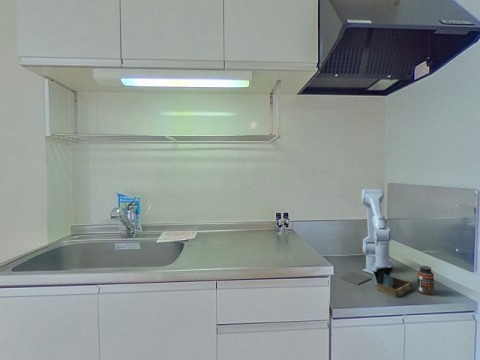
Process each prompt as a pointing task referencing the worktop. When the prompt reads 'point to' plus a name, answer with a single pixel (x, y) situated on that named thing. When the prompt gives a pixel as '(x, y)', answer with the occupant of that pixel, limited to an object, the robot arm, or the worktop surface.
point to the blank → (384, 280)
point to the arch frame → (398, 292)
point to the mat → (355, 278)
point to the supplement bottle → (425, 281)
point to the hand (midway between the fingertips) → (382, 282)
